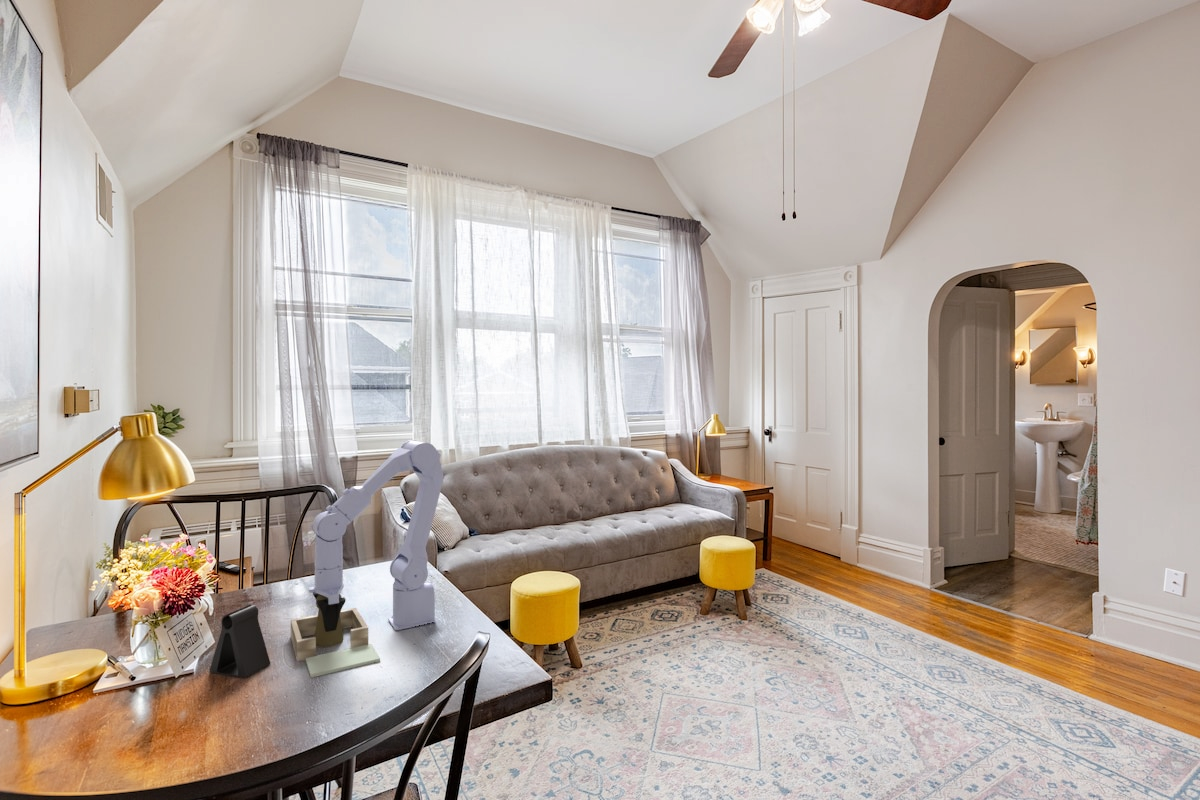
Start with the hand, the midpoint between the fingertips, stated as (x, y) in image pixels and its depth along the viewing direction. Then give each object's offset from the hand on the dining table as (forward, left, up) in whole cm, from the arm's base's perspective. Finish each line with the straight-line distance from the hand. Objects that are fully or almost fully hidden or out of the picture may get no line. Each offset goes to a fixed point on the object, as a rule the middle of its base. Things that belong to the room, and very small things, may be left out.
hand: (328, 626), depth 130 cm
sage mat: (-1, +12, -3) cm, 13 cm away
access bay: (0, 0, -3) cm, 3 cm away
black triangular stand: (+17, +5, -4) cm, 18 cm away
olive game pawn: (0, 0, -4) cm, 4 cm away
